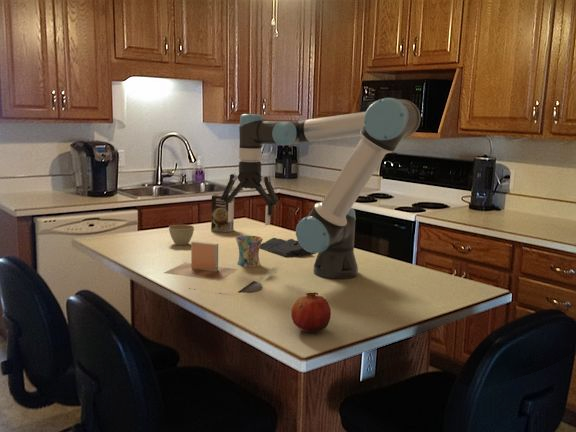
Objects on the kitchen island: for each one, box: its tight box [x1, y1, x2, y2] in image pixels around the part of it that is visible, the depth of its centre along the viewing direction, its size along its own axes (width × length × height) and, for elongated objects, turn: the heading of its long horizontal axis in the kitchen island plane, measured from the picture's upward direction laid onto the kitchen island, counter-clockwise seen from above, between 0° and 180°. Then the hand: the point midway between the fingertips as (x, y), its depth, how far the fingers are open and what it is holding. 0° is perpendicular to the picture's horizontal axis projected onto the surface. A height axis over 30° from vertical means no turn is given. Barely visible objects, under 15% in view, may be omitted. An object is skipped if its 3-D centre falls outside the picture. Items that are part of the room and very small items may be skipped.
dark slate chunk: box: [259, 237, 314, 259], centre depth 234 cm, size 15×22×5 cm
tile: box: [190, 240, 219, 271], centre depth 197 cm, size 9×2×9 cm, turn 71°
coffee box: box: [210, 193, 235, 233], centre depth 266 cm, size 9×6×16 cm
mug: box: [235, 234, 263, 268], centre depth 204 cm, size 12×9×11 cm
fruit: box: [290, 292, 332, 333], centre depth 149 cm, size 11×10×10 cm
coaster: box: [237, 280, 263, 293], centre depth 184 cm, size 11×11×1 cm
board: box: [163, 262, 238, 281], centre depth 196 cm, size 20×14×2 cm
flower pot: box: [168, 224, 195, 246], centre depth 238 cm, size 10×10×7 cm
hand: (249, 223), depth 202 cm, fingers open, 13 cm apart
